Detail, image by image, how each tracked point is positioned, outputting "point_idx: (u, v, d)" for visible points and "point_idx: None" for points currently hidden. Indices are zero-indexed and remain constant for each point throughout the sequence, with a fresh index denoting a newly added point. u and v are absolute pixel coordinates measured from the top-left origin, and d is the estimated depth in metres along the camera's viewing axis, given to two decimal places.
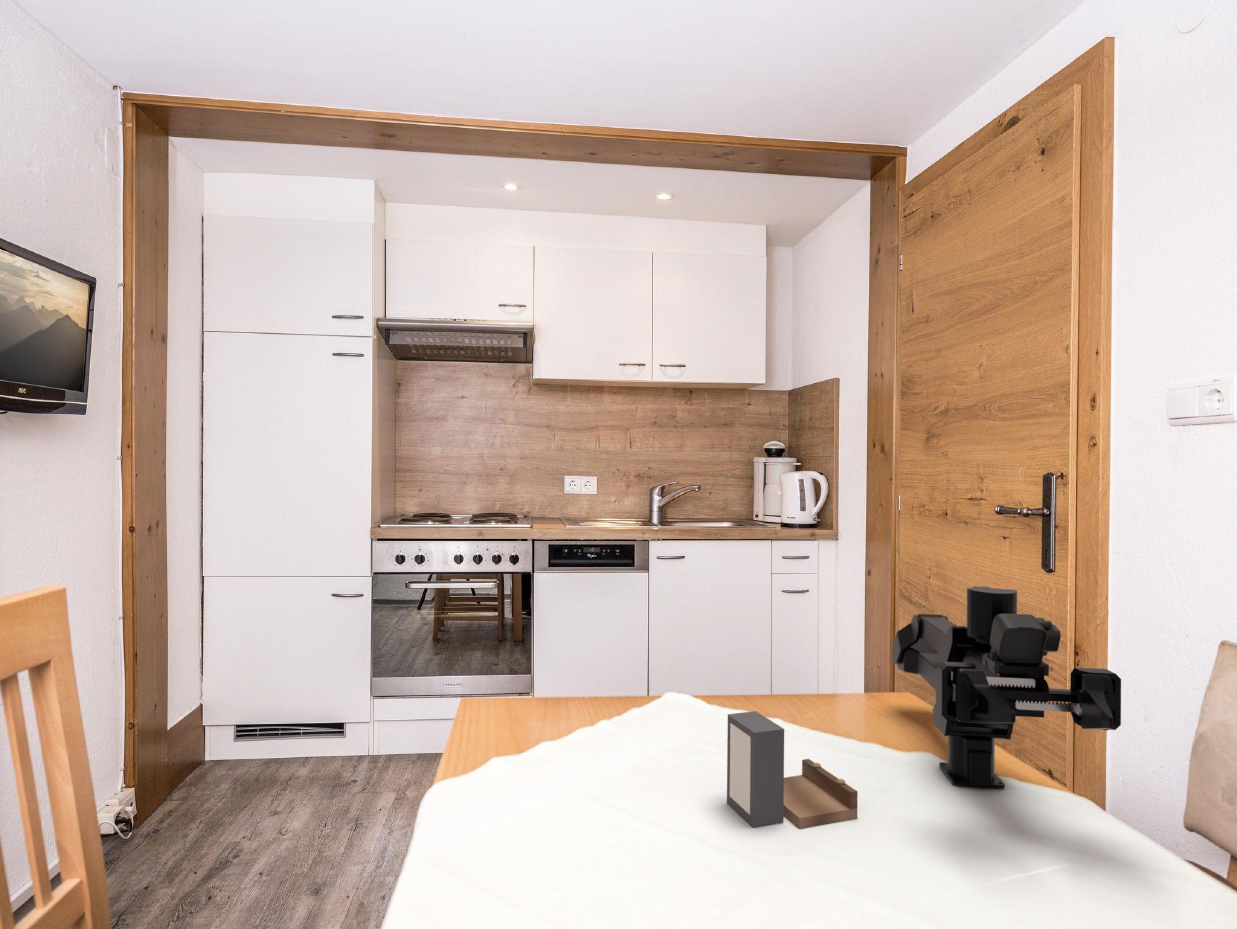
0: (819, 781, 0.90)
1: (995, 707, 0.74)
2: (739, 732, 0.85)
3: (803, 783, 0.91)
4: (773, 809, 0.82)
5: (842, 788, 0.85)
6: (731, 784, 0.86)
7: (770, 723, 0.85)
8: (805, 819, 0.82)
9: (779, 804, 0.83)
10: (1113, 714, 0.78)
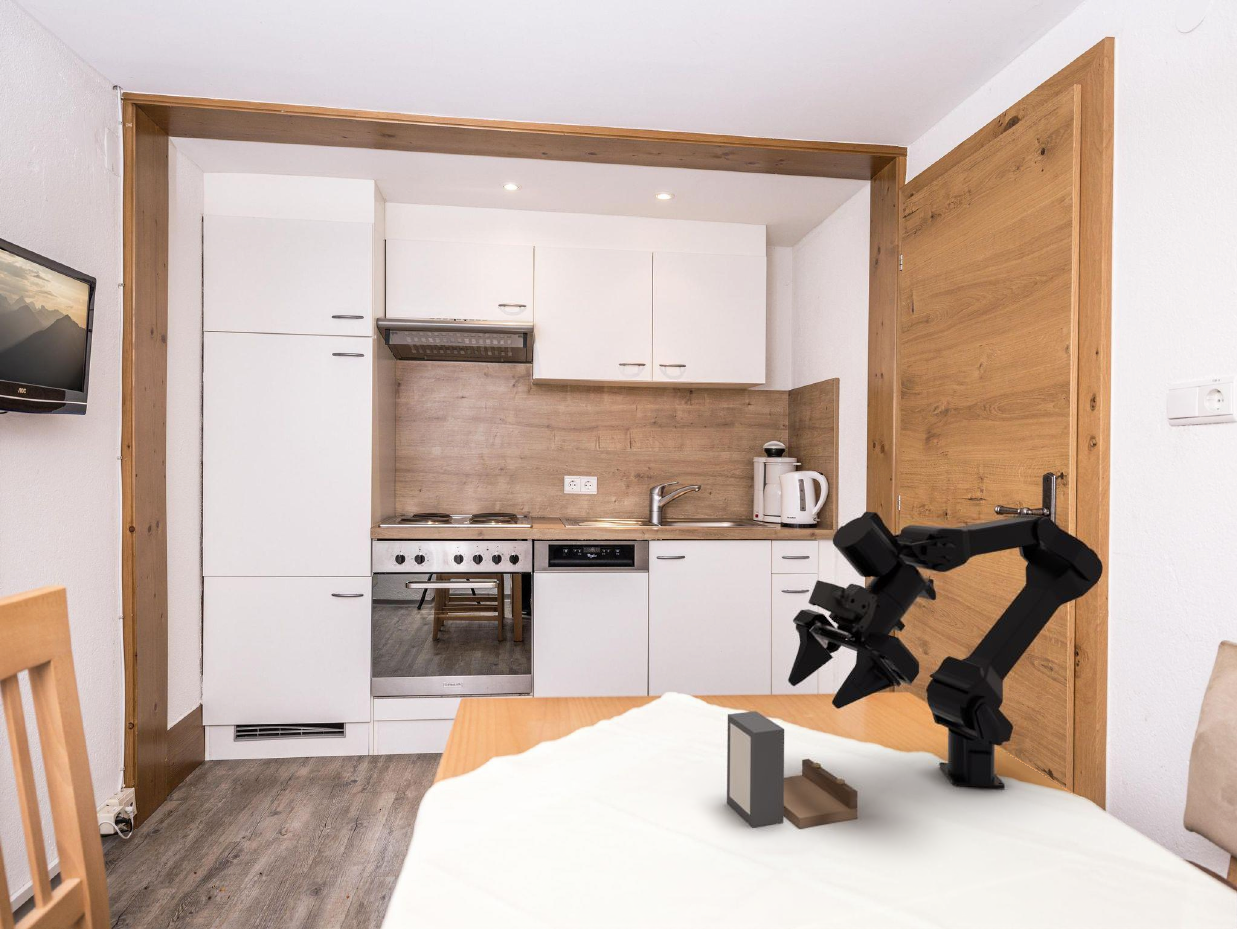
0: (819, 781, 0.90)
1: None
2: (739, 732, 0.85)
3: (803, 783, 0.91)
4: (773, 809, 0.82)
5: (842, 788, 0.85)
6: (731, 784, 0.86)
7: (770, 723, 0.85)
8: (805, 819, 0.82)
9: (779, 804, 0.83)
10: None
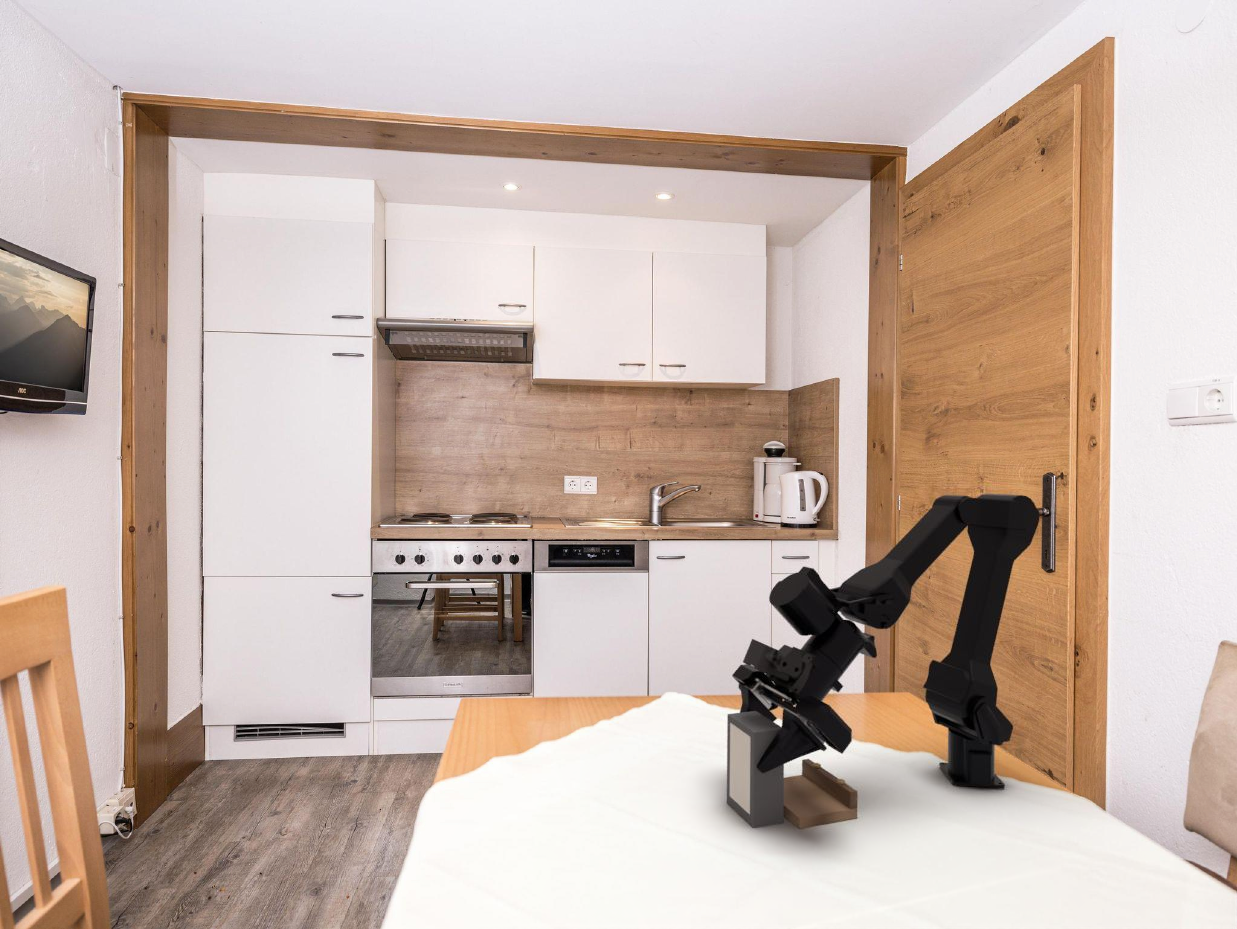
0: (819, 781, 0.90)
1: None
2: (739, 731, 0.85)
3: (803, 783, 0.91)
4: (773, 809, 0.82)
5: (842, 788, 0.85)
6: (731, 784, 0.86)
7: (770, 723, 0.85)
8: (805, 819, 0.82)
9: (779, 804, 0.83)
10: None
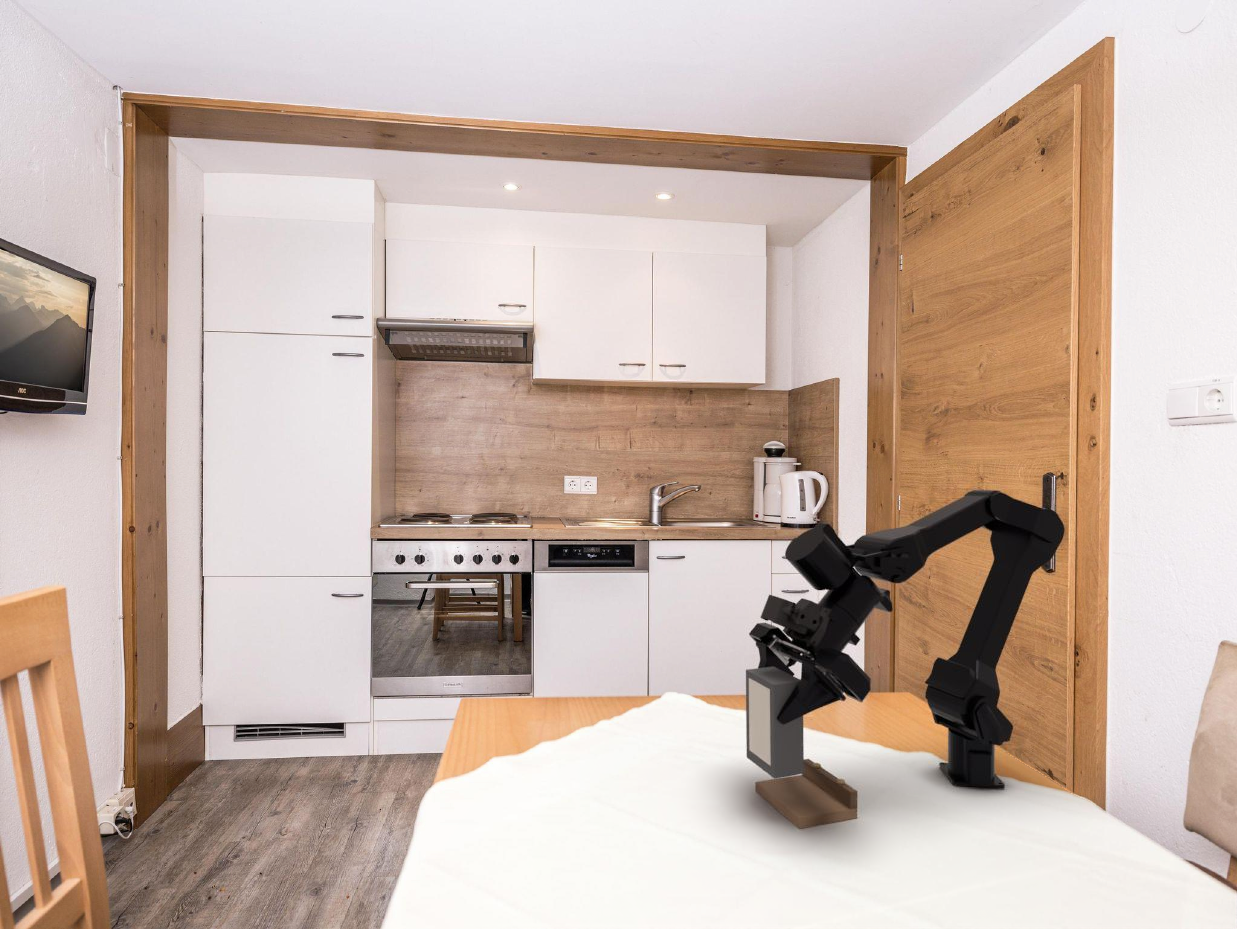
0: (819, 781, 0.90)
1: None
2: (758, 685, 0.86)
3: (803, 783, 0.91)
4: (793, 760, 0.83)
5: (842, 788, 0.85)
6: (751, 738, 0.87)
7: (788, 676, 0.86)
8: (805, 819, 0.82)
9: (799, 755, 0.84)
10: None
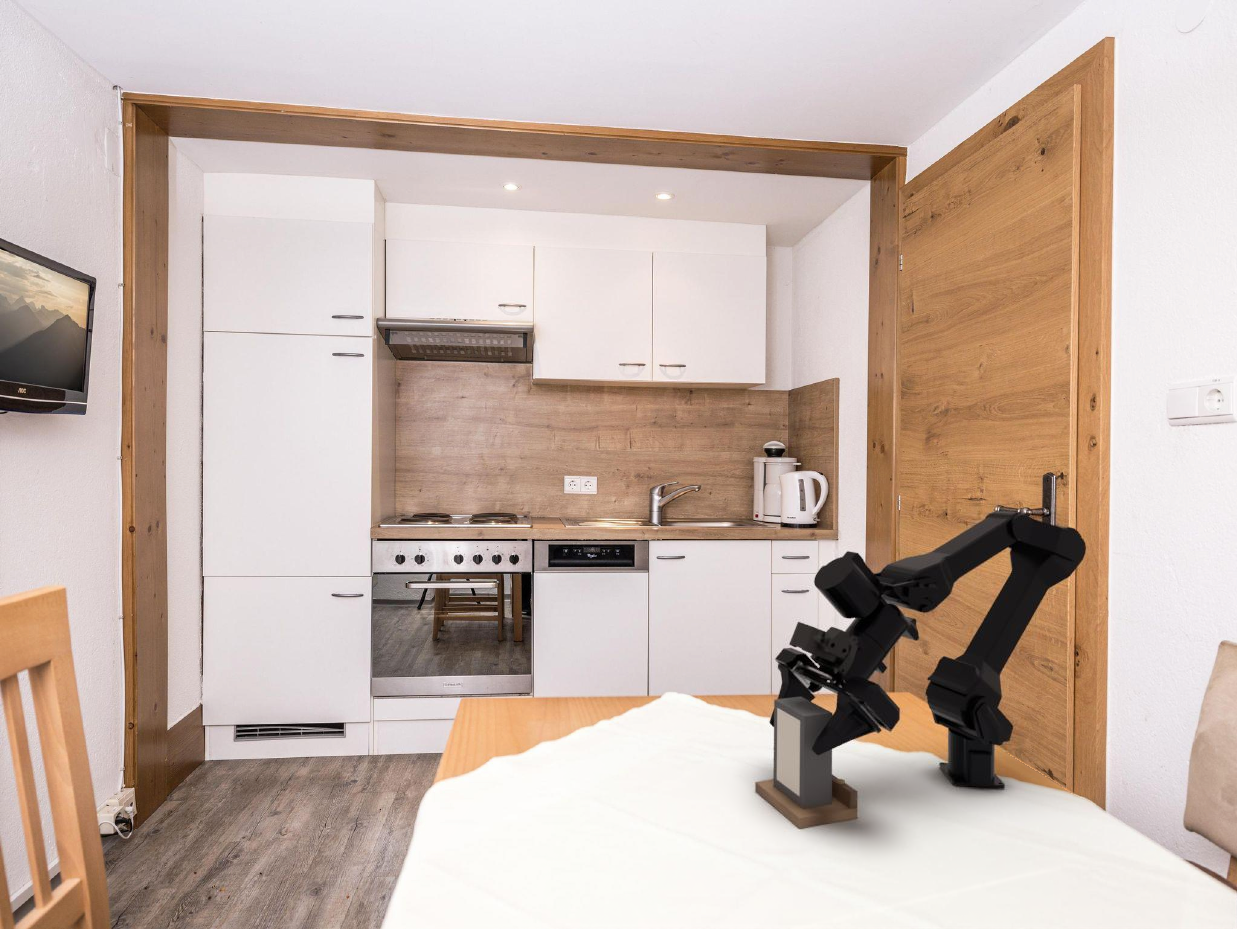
0: None
1: None
2: (787, 716, 0.87)
3: None
4: (822, 791, 0.84)
5: (842, 788, 0.85)
6: (778, 767, 0.89)
7: (817, 707, 0.87)
8: (805, 819, 0.82)
9: (827, 786, 0.85)
10: None
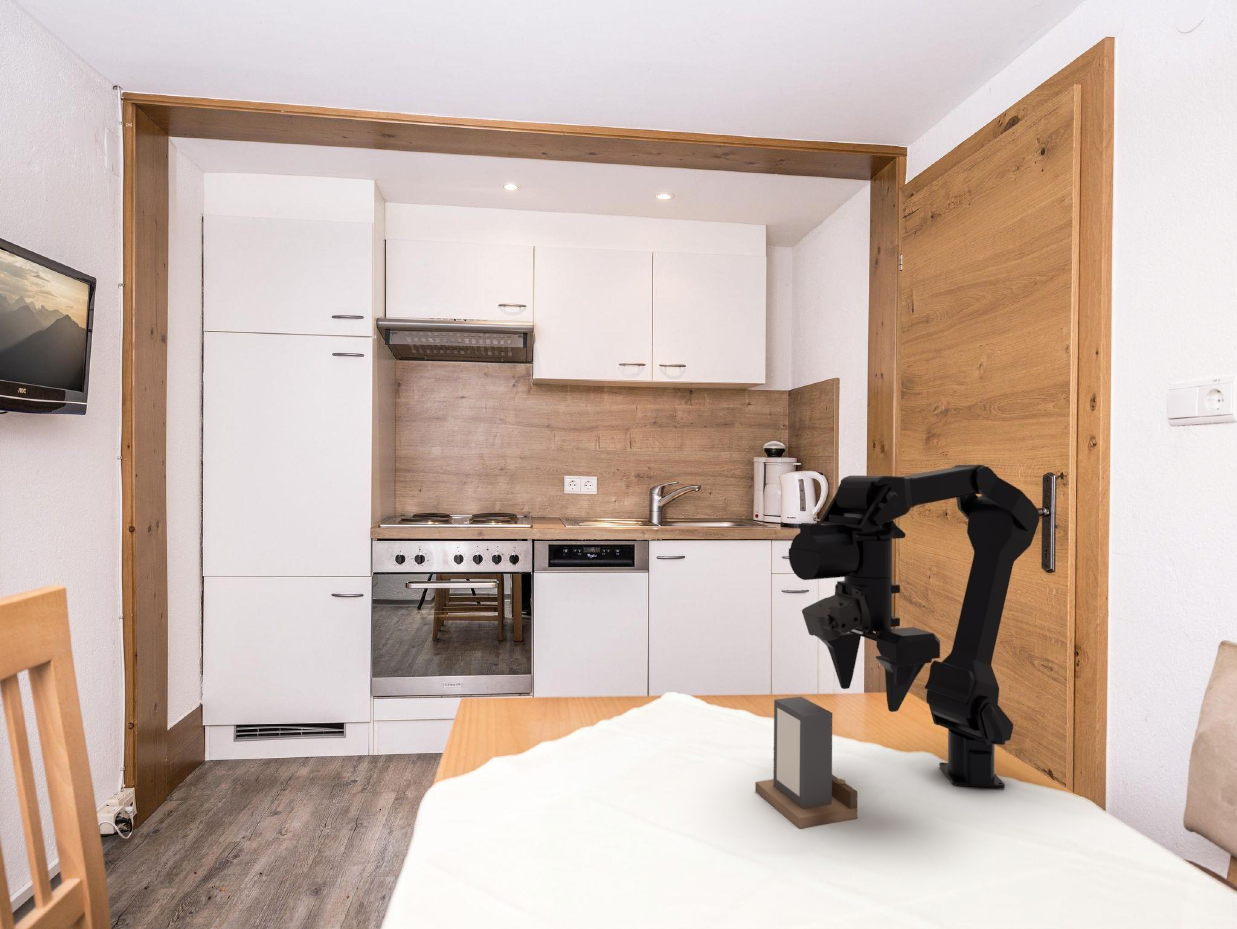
0: None
1: None
2: (787, 716, 0.87)
3: None
4: (822, 791, 0.84)
5: (842, 788, 0.85)
6: (778, 767, 0.89)
7: (817, 707, 0.87)
8: (805, 819, 0.82)
9: (827, 786, 0.85)
10: None
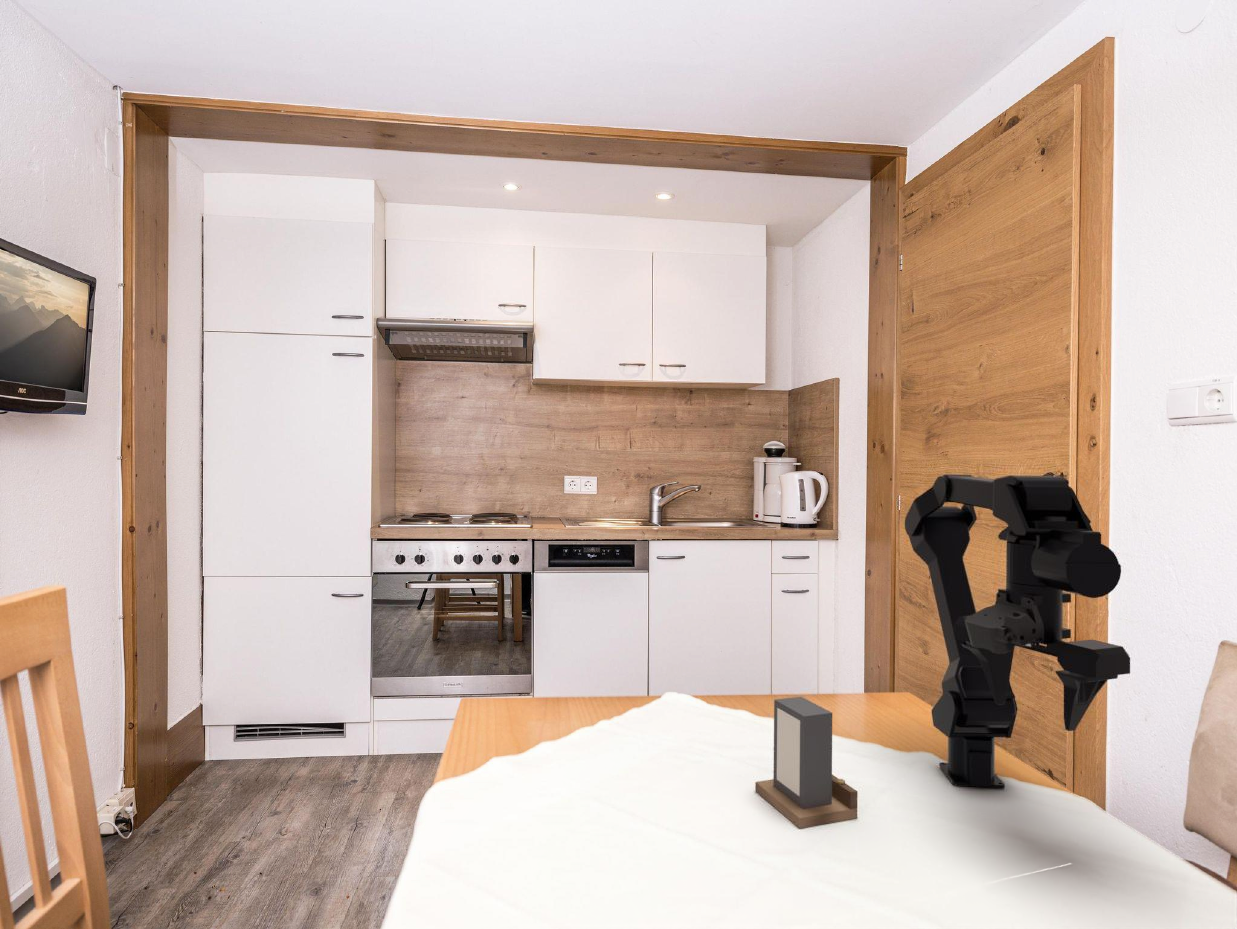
0: None
1: None
2: (787, 716, 0.87)
3: None
4: (822, 791, 0.84)
5: (842, 788, 0.85)
6: (778, 767, 0.89)
7: (817, 707, 0.87)
8: (805, 819, 0.82)
9: (827, 786, 0.85)
10: None
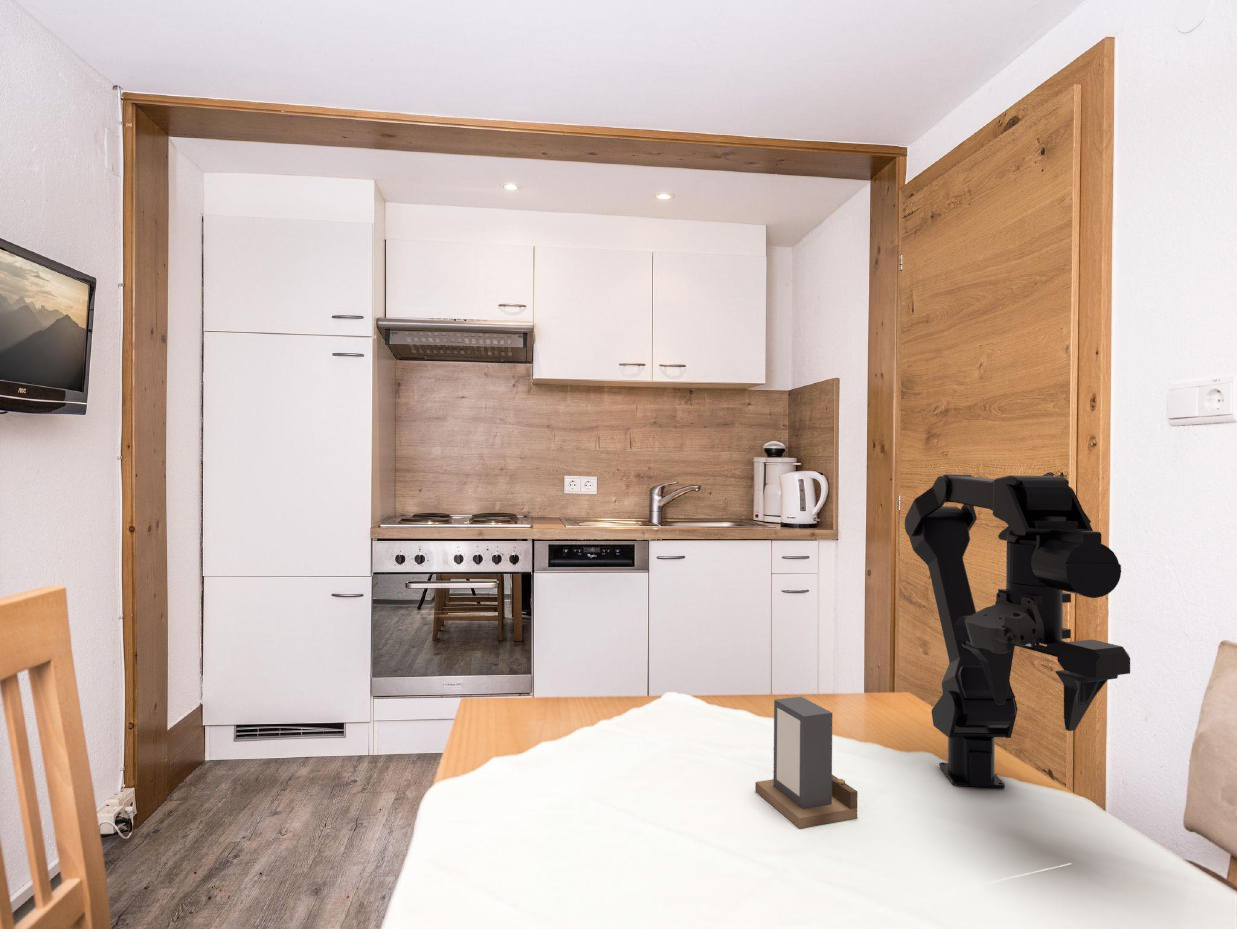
0: None
1: None
2: (787, 716, 0.87)
3: None
4: (822, 791, 0.84)
5: (842, 788, 0.85)
6: (778, 767, 0.89)
7: (817, 707, 0.87)
8: (805, 819, 0.82)
9: (827, 786, 0.85)
10: None
